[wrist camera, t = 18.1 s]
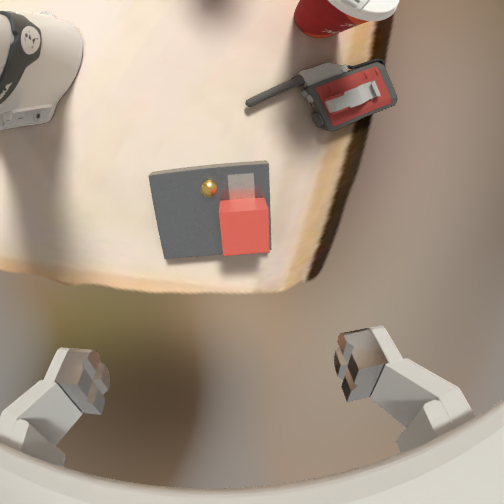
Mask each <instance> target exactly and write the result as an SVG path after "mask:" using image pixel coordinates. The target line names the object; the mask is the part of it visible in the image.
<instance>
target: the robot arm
mask: <svg viewBox="0 0 504 504" xmlns="http://www.w3.org/2000/svg"><path fill="white" fill-rule="evenodd" d="M82 53H83V42H82V37H81V34H80V31H79V30H78V28H77V27H76V26H75V25H74V24H73V23H71V22H70V21H67V20H63V19H58V18H56V17H55V15H54V14H53V13H52V12H50V11H43V12H41V13H40V14H37V13H30V12H22V11H19V12H11V11H7V12H6V11H0V130H4V129H10V128H15V127H21V126H27V125H34V124H41V123H47V122H49V121H50V120H51V118H52V116H53V114H54V111H55V108H56V106H57V103H58V101H59V100H60V98H61V97H62V96H63V95H64V94H65V92H66V91H67V90H68V88H69V87H70V85H71V84H72V82H73V80H74V78H75V76H76V74H77V72H78V69H79V67H80V63H81V59H82ZM39 114H40V117H38V115H39ZM337 342H338V344H339V347H338V348H337V350H336V351H335V356H334V365H335V370H336V373H337V375H338V377H339V378H341V379H343V383H342V390H343V392H344V395H345V397H346V401H347V402H350V401H354V400H359V399H363V398H367V397H370V398H371V399H372V400H373V401H374V402H375V403H377V404H378V405H379V406H380V407H381V408H383V409H384V410H385V411H386V412H388V413H389V414H390V415H391V416H393V417H394V418H395V419H396V420H397V421H399V422H400V423H401V424H402V425H404V426H405V427H406V429H405V430H404V431H403V433H402V434H401V435H400V436H399V437H398V439H397V441H396V442H397V444H398V447H399V449H400V452H401V453H400V454H397V455H395V456H392V457H389V458H386V459H383V460H380V461H377V462H374V463H371V464H368V465H365V466H362V467H358V468H355V469H351V470H347V471H344V472H340V473H336V474H331V475H328V476H323V477H318V478H313V479H308V480H302V481H296V482H290V483H284V484H276V485H267V486H257V487H244V488H222V489H196V488H195V489H194V488H174V487H162V486H153V485H144V484H137V483H130V482H124V481H118V480H113V479H108V478H103V477H99V476H94V475H90V474H86V473H82V472H78V471H75V470H71V469H68V468H64V467H63V465H64V460H65V454H64V453H63V452H62V451H61V450H60V449H58V448H57V447H56V445H57V443H58V442H59V441H60V440H61V439H62V437H63V436H64V435H65V434H66V433H67V431H68V430H69V429H70V428H71V427H72V426H73V424H74V423H75V422H76V421H77V420H78V419H79V417H80V416H81V415H82V413H89V414H98V415H101V414H102V411H103V407H104V403H105V398H104V396H103V394H104V393H105V392H106V391H107V390H108V388H109V384H110V376H109V372H108V369H107V368H106V366H105V365H104V364H103V363H101V362H100V361H99V360H100V356H99V354H98V353H97V351H95V350H86V349H75V348H60V349H58V350H57V352H56V354H55V356H54V358H53V360H52V362H51V365H50V367H49V369H48V371H47V373H46V376H45V378H44V380H40V381H39V382H37V383H36V384H35V385H34V386H33V387H31V388H30V389H29V390H28V391H26V392H25V393H24V394H23V395H22V396H20V397H19V398H18V399H17V400H16V401H14V402H13V403H12V404H11V405H10V406H9V407H7V408H6V409H5V410H4V411H3V412H2V414H1V416H0V504H504V399H503V400H501V401H500V402H498V403H497V404H495V405H494V406H492V407H491V408H489V409H487V410H486V411H484V412H483V413H481V414H479V415H478V416H476V417H475V415H474V413H473V411H472V409H471V408H470V406H469V404H468V402H467V401H466V399H465V397H464V395H463V394H462V392H461V390H460V389H459V387H457V386H455V385H453V384H451V383H449V382H448V381H446V380H444V379H442V378H441V377H439V376H437V375H436V374H434V373H432V372H430V371H428V370H427V369H425V368H423V367H421V366H419V365H418V364H416V363H414V362H413V361H411V360H409V359H408V358H406V359H403V358H402V356H401V354H400V353H399V351H398V349H397V348H396V346H395V344H394V342H393V341H392V339H391V337H390V336H389V334H388V333H387V331H386V329H385V328H384V327H383V326H382V325H381V326H376V327H370V328H365V329H360V330H355V331H350V332H345V333H341V334H340V335H339V336H338V341H337Z"/></svg>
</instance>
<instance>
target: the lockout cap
mask: <svg viewBox="0 0 504 504" xmlns="http://www.w3.org/2000/svg"><path fill="white" fill-rule="evenodd" d="M219 219H220V229H221V238H222V247H223V256H228V255H241V254H253V253H266V252H269V210H268V207H267V204H266V201H265V198H264V197H262V198H248V199H234V200H222V201H220V205H219Z"/></svg>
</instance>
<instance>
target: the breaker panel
mask: <svg viewBox="0 0 504 504" xmlns="http://www.w3.org/2000/svg"><path fill="white" fill-rule="evenodd" d="M149 181H150V187H151V193H152V198H153V204H154V210H155V215H156V220H157V225H158V230H159V235H160V240H161V245H162V249H163V254H164V259H169V258H181V257H193V256H205V255H216V254H223V247H222V238H221V229H220V219H219V205H220V201H222V200H234V199H248V198H262V197H264V198H265V201H266V204H267V207H268V210H269V250H271V218H270V187H269V163H268V162H267V161H254V162H239V163H227V164H216V165H206V166H196V167H187V168H179V169H171V170H164V171H157V172H152V173H151V174H150V175H149Z"/></svg>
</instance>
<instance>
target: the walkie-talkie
mask: <svg viewBox="0 0 504 504" xmlns="http://www.w3.org/2000/svg"><path fill="white" fill-rule="evenodd" d="M377 61H378V62H380V63H381V64H380V63H378V62H377ZM348 68H349V69H352V70H349V71H347V69H348ZM298 74H299V75H298V76H296V77H294V78H292V80H289V81H287V82H285V83H282V84H280V85H278V86H275V87H273V88H271V89H269V90H267V91H264V92H262V93H260V94H258V95H256V96H254V97H252V98H250V99H248V100H246V105H247V106H248V107H252V106H254V105H256V104H258V103H260V102H262V101H264V100H266V99H268V98H270V97H273V96H275V95H277V94H279V93H281V92H284V91H286V90H288V89H290V88H293V87H295V86H296V87H298V86H301V85H303V84H304V85H305V89H304V90H303V92H301V94H302V96H303V97H304V98H305V97H306V99H307V101H308V102H309V103H311V105H312V107H313V109H314V111H315V113H312V119H313V121H314V123H315V125H316V126H317V127H319V128H320V127H322V128H323V129H324V130H328V131H335V130H338V129H340V128H341V127H344V126H346V125H349V124H351V123H353V122H355V121H358V120H360V119H361V118H364V117H367V116H368V115H369V116H370V115H371V114H374V113H377V112H379V111H380V110H383V109H386V108H389V107H392V106H393V105H394V106H395V104H396V102H397V95H396V92H395V90H394V87H393V85H392V82H391V80H390V77H389V75H388V73H387V71H386V68H385V62H384V61H383V60H382V59H374V60H371V61H368V62H365V63H361V64H358V65H355V66H349V65H348V66H347V65H343V66H341V65H337V64H334V63H331V62H327V63H324V64H321V65H318V66H316V67H313V68H310V69H304V70H302V71H300V72H298Z"/></svg>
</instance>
